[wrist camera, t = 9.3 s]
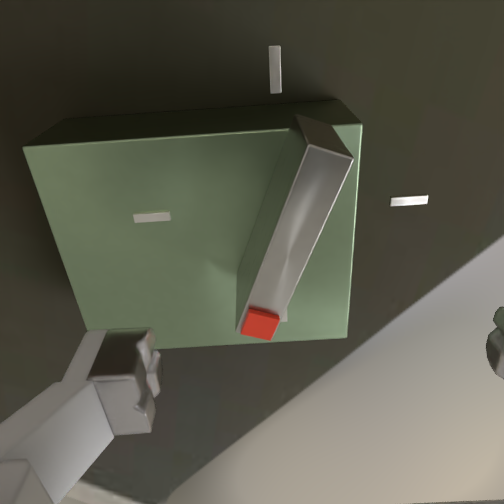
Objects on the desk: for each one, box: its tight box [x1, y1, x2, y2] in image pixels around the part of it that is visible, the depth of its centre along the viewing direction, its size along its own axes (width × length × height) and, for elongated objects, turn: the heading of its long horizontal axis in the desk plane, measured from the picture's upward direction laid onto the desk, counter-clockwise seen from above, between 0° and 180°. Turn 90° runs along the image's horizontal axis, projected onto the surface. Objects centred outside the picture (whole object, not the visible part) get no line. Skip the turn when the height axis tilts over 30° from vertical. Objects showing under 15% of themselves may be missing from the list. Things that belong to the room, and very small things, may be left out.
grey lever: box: [235, 114, 354, 341], centre depth 14 cm, size 7×1×4 cm, turn 162°
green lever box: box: [22, 45, 428, 349], centre depth 18 cm, size 15×13×4 cm
